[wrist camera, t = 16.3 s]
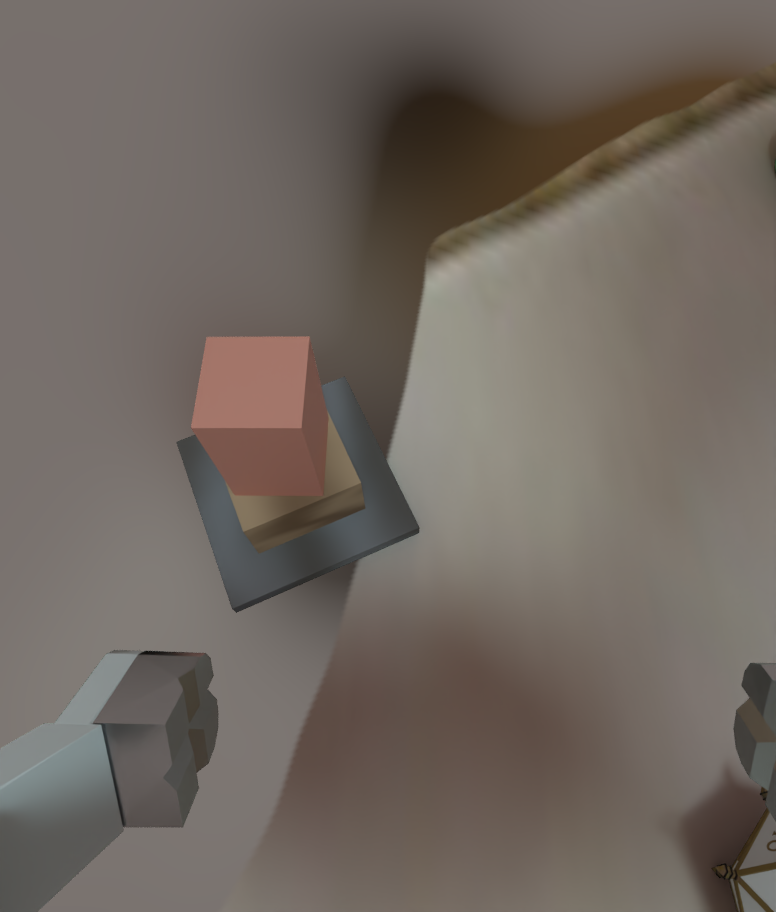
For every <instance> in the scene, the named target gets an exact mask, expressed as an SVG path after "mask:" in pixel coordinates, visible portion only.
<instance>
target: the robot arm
mask: <svg viewBox="0 0 776 912" xmlns="http://www.w3.org/2000/svg"><path fill="white" fill-rule="evenodd" d="M212 678H213V670H212V664H211V658H210V657H209V656H208V655H207V654H206V653H188V652H164V651H144V652H143V651H127V650H114V651H111V652H109V653H107V654H106V655H105V656H104V657H103V658H102V660H101V661H100V662H99V664H98V665H97V666H96V668H95V669H94V671H93V672H92V673H91V675H90V676H89V677H88V679H87V680H86V681H85V683H84V684H83V685H82V687H81V688H80V689H79V691H78V692H77V693H76V695H75V696H74V697H73V699H72V700H71V701H70V703H69V704H68V706H67V707H66V708H65V709H64V711H63V712H62V713H61V715H60V716H59V718H58V719H57V720H56V722H55V723H44V724H42V725H40V726H39V727H37V728H35V729H34V730H32V731H30V732H28V733H26V734H25V735H23V736H21V737H19V738H18V739H16V740H14V741H13V742H11V743H9V744H7V745H5V746H4V747H2V748H0V912H38V911H39V910H40V909H41V908H42V907H43V906H44V905H45V904H46V903H47V902H48V901H50V900H51V899H52V898H53V897H54V896H55V895H56V894H57V893H58V892H59V891H60V890H61V889H62V888H63V887H64V886H66V885H67V884H68V883H69V882H70V881H71V880H72V879H73V878H74V877H75V876H76V875H77V874H78V873H79V872H80V871H81V870H83V869H84V868H85V867H86V866H87V865H88V864H89V863H90V862H91V861H92V860H93V859H94V858H95V857H96V856H97V855H99V854H100V853H101V852H102V851H103V850H104V849H105V848H106V847H107V846H108V845H109V844H110V843H111V842H112V841H113V840H114V839H116V838H117V837H118V836H119V835H120V834H121V833H122V832H123V830H124V829H123V827H183V826H184V823H185V821H186V818H187V816H188V813H189V811H190V808H191V806H192V804H193V801H194V799H195V796H196V794H197V791H198V788H199V786H198V780H197V772H198V771H199V770H201V769H202V768H203V767H205V766H206V765H207V764H208V763H209V761H210V758H211V755H212V753H213V750H214V747H215V742H216V736H217V731H218V705H217V699H216V698H215V697H214V696H213V695H212V694H211V692H210V691H209V690H207V689H208V687H209V684H210V682H211V680H212ZM742 687H743V688H744V690H745V691H746V693H747V694H748V696H749V697H750V698H749V699H748V700H747V701H746V702H745V703H744V704H742V705H741V706H740V707H739V708H738V709H737V710H736V716H735V722H734V737H735V745H736V750H737V753H738V755H739V758H740V761H741V764H742V765H743V767H744V769H745V771H746V772H747V774H748V776H749V778H751V779H752V780H753V781H755V782H756V783H758V784H759V785H760V786H762V787H763V788H765V789H766V790H768V794H767V798H766V803H765V805H766V807H767V808H768V810H769V812H770V813H771V815H772V817H773V818H774V820H775V822H776V663H750V664H749V666H748V667H747V669H746V670H745V672H744V677H743V681H742Z"/></svg>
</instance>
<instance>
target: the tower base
mask: <svg viewBox="0 0 776 912" xmlns="http://www.w3.org/2000/svg"><path fill="white" fill-rule="evenodd" d="M321 388H322V392H323V396H324V400H325V405H326V409H327V413H328V417H329V420H328V435H327V449H326V464H325V479H324V494H323V496H235V495H234V494H233V492H232V490H231V489H230V487H229V486H228V484H227V483H226V481H225V480H224V478H223V477H222V475H221V474H220V472H219V470H218V469H217V467H216V466H215V464H214V463H213V461H212V460H211V458H210V457H209V455H208V453H207V452H206V450H205V449H204V447H203V446H202V444H201V443H200V441H199V440H198V438H197V437H196V435H193V436H191V437H188V438H185V439H183V440H180V441H178V442H177V445H178V448H179V451H180V454H181V457H182V460H183V463H184V466H185V469H186V472H187V475H188V478H189V481H190V484H191V487H192V490H193V493H194V496H195V499H196V502H197V505H198V508H199V511H200V514H201V517H202V520H203V523H204V526H205V529H206V532H207V535H208V538H209V541H210V544H211V547H212V550H213V553H214V556H215V559H216V562H217V565H218V568H219V571H220V573H221V576H222V580H223V583H224V585H225V589H226V592H227V594H228V597H229V601H230V604H231V606H232V609H233V610H234V611H235V612H236V613H237V612H239V611H241V610H243V609H246V608H248V607H250V606H252V605H255V604H257V603H259V602H262V601H264V600H266V599H269V598H271V597H273V596H275V595H278V594H280V593H282V592H284V591H287V590H289V589H291V588H294V587H296V586H298V585H301V584H303V583H305V582H307V581H310V580H312V579H314V578H317V577H319V576H321V575H323V574H325V573H328V572H330V571H333V570H335V569H337V568H340V567H342V566H344V565H346V564H349V563H351V562H353V561H356V560H358V559H360V558H362V557H365V556H367V555H369V554H372V553H374V552H376V551H378V550H381V549H383V548H385V547H388V546H390V545H392V544H394V543H397V542H399V541H401V540H404V539H406V538H408V537H410V536H413V535H415V534H417V533H419V526H418V524H417V522H416V520H415V518H414V516H413V514H412V512H411V510H410V508H409V506H408V504H407V502H406V500H405V498H404V495H403V493H402V491H401V489H400V487H399V485H398V483H397V481H396V479H395V477H394V475H393V473H392V471H391V469H390V467H389V465H388V463H387V461H386V459H385V457H384V455H383V453H382V451H381V449H380V447H379V445H378V443H377V441H376V439H375V437H374V435H373V433H372V431H371V429H370V427H369V425H368V422H367V420H366V418H365V416H364V414H363V412H362V410H361V408H360V406H359V404H358V402H357V400H356V398H355V396H354V394H353V392H352V390H351V388H350V386H349V384H348V382H347V380H346V378H345V377H343V378H340V379H337V380H335V381H332V382H329V383H327V384H324V385H322V386H321Z"/></svg>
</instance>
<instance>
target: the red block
mask: <svg viewBox="0 0 776 912" xmlns="http://www.w3.org/2000/svg"><path fill="white" fill-rule="evenodd" d="M328 420H329V417H328V413H327V409H326V405H325V400H324V396H323V392H322V388H321V384H320V379H319V375H318V371H317V367H316V362H315V358H314V353H313V349H312V345H311V341H310V337H207V339H206V344H205V350H204V356H203V362H202V367H201V373H200V379H199V385H198V391H197V396H196V402H195V408H194V414H193V420H192V425H191V429H192V430H193V432H194V433H195V435H196V437H197V438H198V440H199V441H200V443H201V444H202V446H203V447H204V449H205V450H206V452H207V453H208V455H209V457H210V458H211V460H212V461H213V463H214V464H215V466H216V467H217V469H218V470H219V472H220V474H221V475H222V477H223V478H224V480H225V481H226V483H227V484H228V486H229V487H230V489H231V490H232V492H233V494H234V495H235V496H323V494H324V479H325V464H326V449H327V435H328Z"/></svg>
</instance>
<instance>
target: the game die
mask: <svg viewBox="0 0 776 912" xmlns="http://www.w3.org/2000/svg"><path fill="white" fill-rule="evenodd" d="M767 794H768V790H766V789H765V788H763V787H762V789H761V793H760V795H762V796H763V798H764V799H763V800H765V801H766V798H767ZM712 869H713V870H714V871H715V873H716V875H717V876H718V877H719V878H721V877H722V878H723V879H726V878H727V879H728V880H729V882H730V886H731V890H732V894H733V897H734V901H735V905H736V909H737V912H776V822H775V820H774V818H773V817H772V815H771V813H770V812H769V810H768V808H767V809H766V811H765V812H764V814H763V816H762V817H761V819H760V821H759V822H758V824H757V826H756V827H755V829H754V831H753V832H752V834H751V835H750V837H749V839H748V840H747V842H746V844H745V845H744V847H743V849H742V850H741V852H740V854H739V855H738V857H737V859H736V860H735V862H734V864H733V865H732V867H731V866H727V865H726V864H721V865H718V866H717V867H714V868H712Z"/></svg>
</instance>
